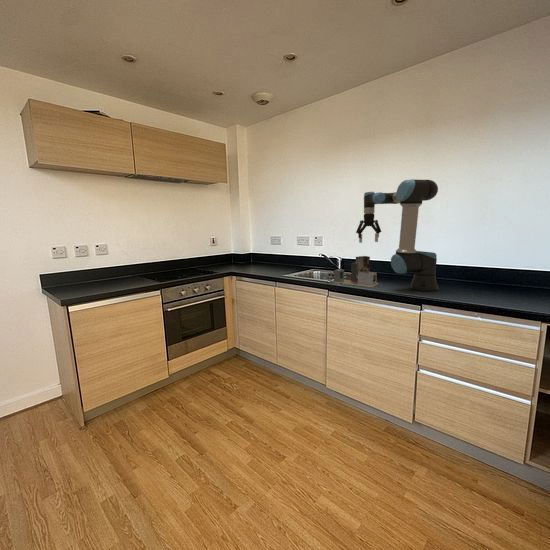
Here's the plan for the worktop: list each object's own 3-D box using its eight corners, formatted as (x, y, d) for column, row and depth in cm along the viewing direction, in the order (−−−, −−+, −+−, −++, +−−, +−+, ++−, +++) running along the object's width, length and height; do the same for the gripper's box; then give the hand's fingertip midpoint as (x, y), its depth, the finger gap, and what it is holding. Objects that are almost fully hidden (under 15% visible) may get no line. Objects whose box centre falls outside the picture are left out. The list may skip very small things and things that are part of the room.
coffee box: (364, 275, 228) (364, 255, 226) (369, 277, 222) (370, 256, 220) (354, 276, 225) (355, 256, 222) (360, 278, 219) (360, 257, 216)
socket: (343, 280, 208) (344, 269, 207) (339, 281, 203) (339, 270, 201) (339, 279, 211) (339, 269, 210) (333, 281, 205) (334, 270, 204)
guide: (378, 284, 193) (378, 272, 192) (372, 287, 186) (373, 274, 184) (338, 280, 213) (338, 269, 211) (331, 282, 205) (331, 271, 204)
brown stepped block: (373, 282, 192) (374, 263, 190) (371, 283, 189) (372, 264, 187) (349, 280, 203) (349, 262, 201) (346, 281, 201) (347, 263, 199)
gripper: (380, 213, 219) (379, 241, 222) (351, 214, 212) (351, 242, 215) (386, 213, 212) (385, 241, 215) (357, 213, 205) (356, 243, 208)
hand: (368, 242), depth 215 cm, fingers open, 13 cm apart
